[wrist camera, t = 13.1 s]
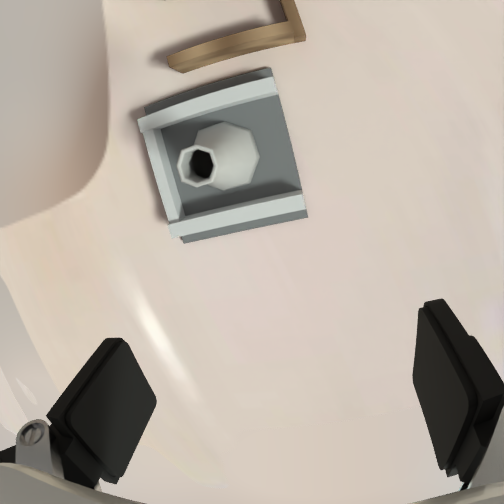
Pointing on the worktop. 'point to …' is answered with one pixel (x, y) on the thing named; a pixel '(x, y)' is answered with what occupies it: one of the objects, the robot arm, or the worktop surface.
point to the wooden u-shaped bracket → (242, 42)
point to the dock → (236, 199)
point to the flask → (219, 157)
